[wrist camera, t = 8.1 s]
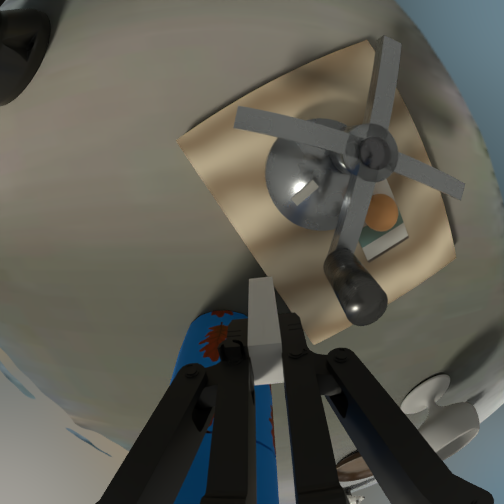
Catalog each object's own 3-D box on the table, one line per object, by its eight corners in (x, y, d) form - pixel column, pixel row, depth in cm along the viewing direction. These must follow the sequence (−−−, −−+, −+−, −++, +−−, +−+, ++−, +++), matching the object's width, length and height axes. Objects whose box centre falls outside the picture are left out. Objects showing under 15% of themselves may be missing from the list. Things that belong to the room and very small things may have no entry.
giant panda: (330, 496, 66) (333, 516, 57) (321, 495, 65) (324, 516, 56) (364, 482, 62) (369, 503, 53) (356, 481, 61) (361, 504, 52)
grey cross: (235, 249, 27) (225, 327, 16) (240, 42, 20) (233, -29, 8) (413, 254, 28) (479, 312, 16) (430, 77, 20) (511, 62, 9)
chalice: (463, 369, 40) (495, 418, 26) (426, 413, 45) (448, 461, 31) (423, 368, 39) (459, 430, 25) (383, 416, 44) (404, 474, 30)
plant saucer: (312, 471, 54) (314, 481, 51) (370, 436, 47) (373, 447, 44) (362, 473, 58) (364, 481, 55) (415, 440, 51) (418, 449, 48)
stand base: (180, 140, 26) (175, 140, 24) (360, 45, 21) (368, 39, 19) (311, 335, 35) (314, 346, 33) (448, 252, 30) (457, 258, 28)
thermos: (265, 306, 33) (282, 525, 10) (268, 368, 37) (279, 539, 14) (177, 310, 33) (113, 506, 10) (193, 370, 37) (163, 532, 14)
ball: (351, 201, 26) (365, 210, 22) (380, 184, 25) (397, 190, 22) (365, 231, 27) (379, 243, 23) (392, 214, 26) (409, 224, 23)
